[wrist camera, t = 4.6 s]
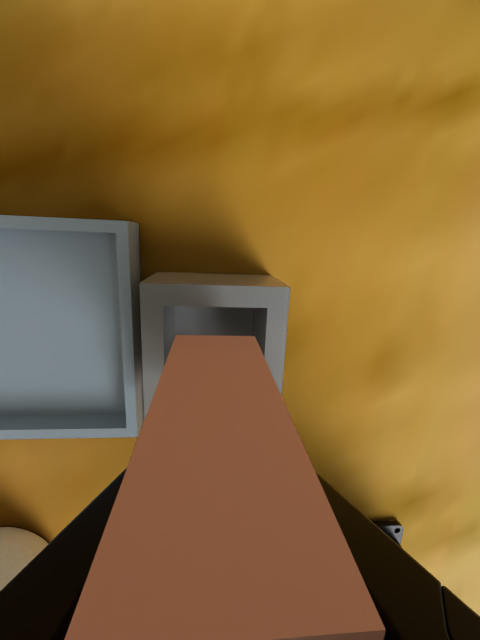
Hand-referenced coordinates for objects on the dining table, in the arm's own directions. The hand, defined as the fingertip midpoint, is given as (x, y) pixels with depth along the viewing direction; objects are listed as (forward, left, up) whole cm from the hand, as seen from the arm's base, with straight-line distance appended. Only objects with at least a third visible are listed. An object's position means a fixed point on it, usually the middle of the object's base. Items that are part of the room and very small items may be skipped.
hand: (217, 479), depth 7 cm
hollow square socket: (0, 0, -13) cm, 13 cm away
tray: (+10, 0, -13) cm, 17 cm away
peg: (0, 0, -6) cm, 6 cm away
